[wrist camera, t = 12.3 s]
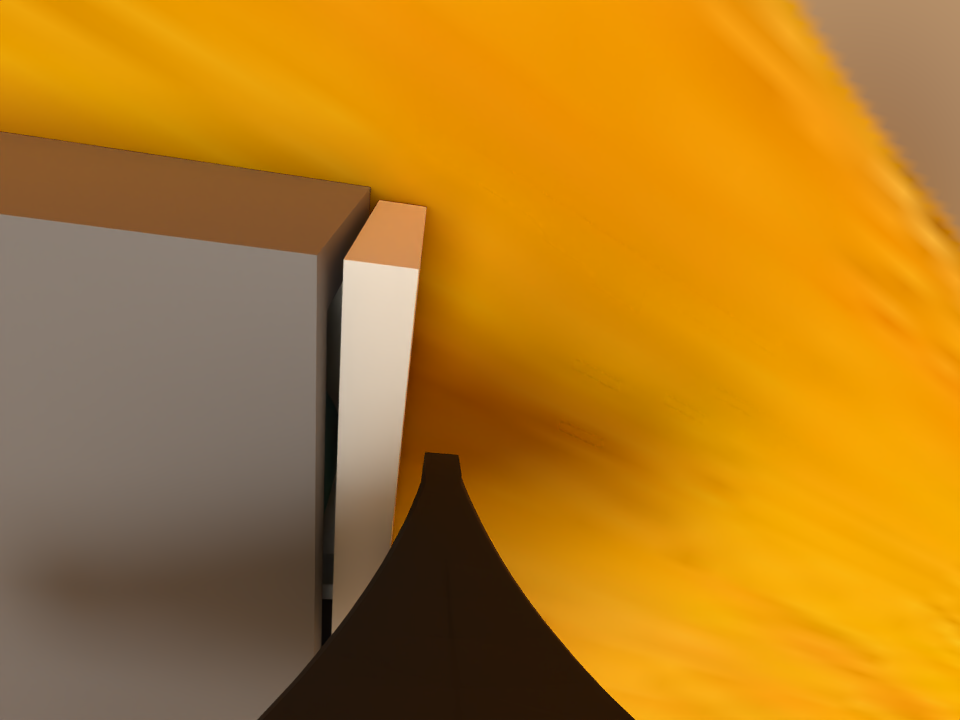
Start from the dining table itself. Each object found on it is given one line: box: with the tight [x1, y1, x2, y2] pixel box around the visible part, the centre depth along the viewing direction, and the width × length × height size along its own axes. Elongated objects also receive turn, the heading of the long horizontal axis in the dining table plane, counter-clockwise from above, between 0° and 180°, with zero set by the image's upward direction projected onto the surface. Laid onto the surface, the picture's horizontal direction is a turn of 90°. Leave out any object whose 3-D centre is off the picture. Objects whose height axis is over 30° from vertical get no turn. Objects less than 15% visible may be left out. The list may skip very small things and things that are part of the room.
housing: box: [0, 132, 371, 720], centre depth 10 cm, size 12×9×5 cm
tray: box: [322, 200, 427, 634], centre depth 11 cm, size 12×9×4 cm
